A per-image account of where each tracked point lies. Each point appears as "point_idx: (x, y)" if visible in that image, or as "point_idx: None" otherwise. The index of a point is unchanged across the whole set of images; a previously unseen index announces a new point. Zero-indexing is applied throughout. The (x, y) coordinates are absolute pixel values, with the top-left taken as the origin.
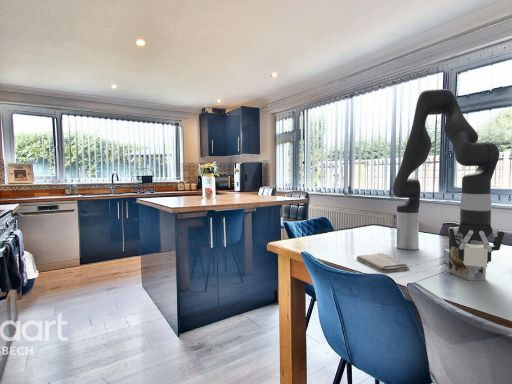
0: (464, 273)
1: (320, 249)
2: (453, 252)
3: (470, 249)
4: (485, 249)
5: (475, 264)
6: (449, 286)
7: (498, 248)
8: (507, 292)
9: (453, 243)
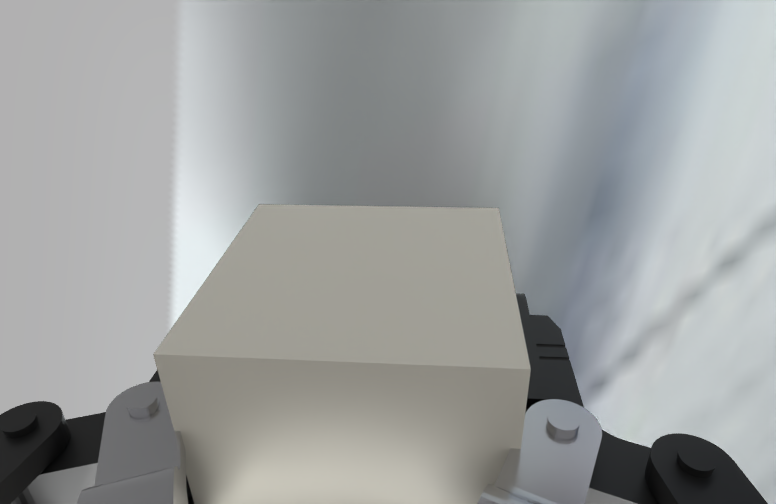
0: None
1: None
2: None
3: (434, 341)
4: (189, 350)
5: (377, 213)
6: (611, 75)
7: (2, 430)
8: (177, 120)
9: (726, 494)
